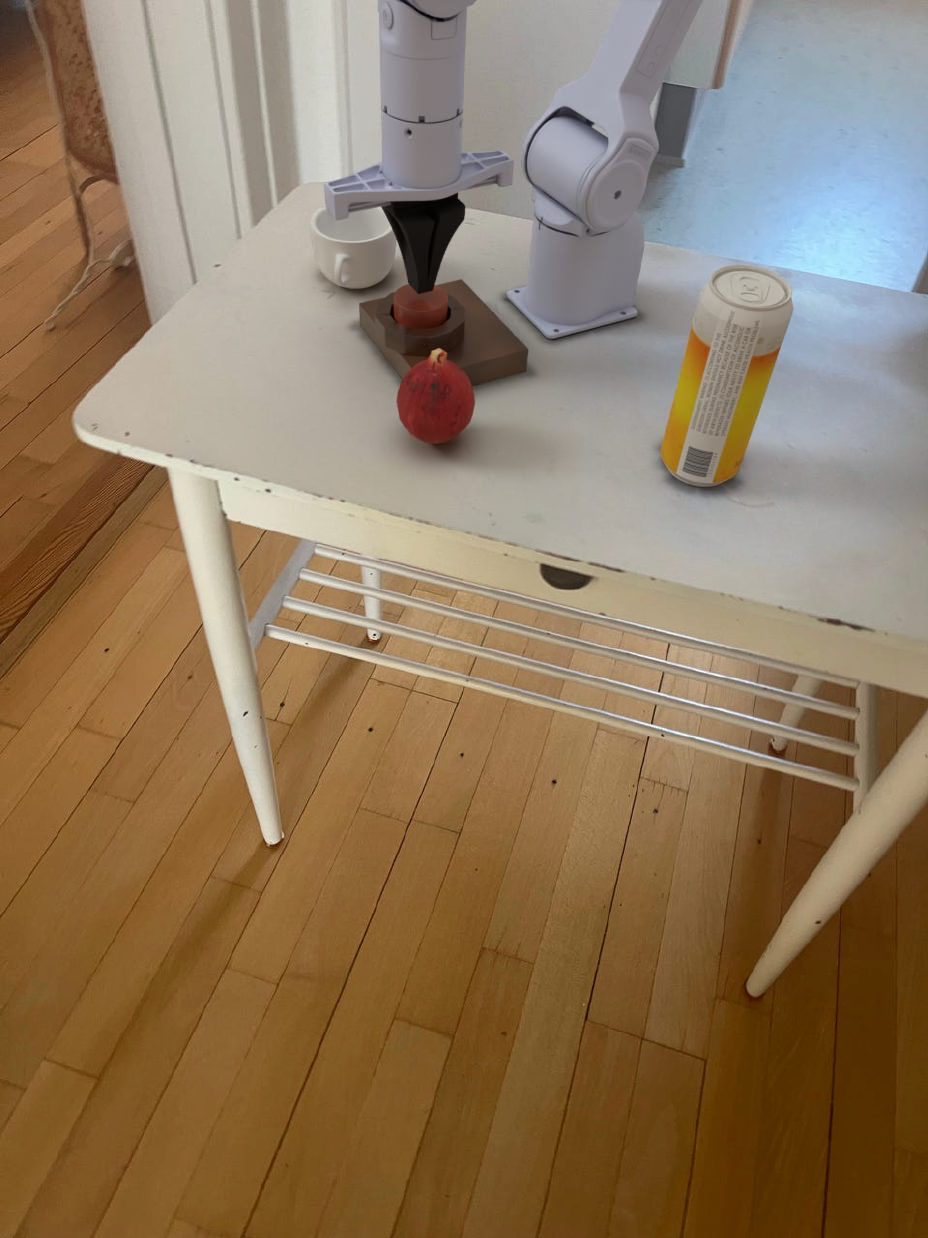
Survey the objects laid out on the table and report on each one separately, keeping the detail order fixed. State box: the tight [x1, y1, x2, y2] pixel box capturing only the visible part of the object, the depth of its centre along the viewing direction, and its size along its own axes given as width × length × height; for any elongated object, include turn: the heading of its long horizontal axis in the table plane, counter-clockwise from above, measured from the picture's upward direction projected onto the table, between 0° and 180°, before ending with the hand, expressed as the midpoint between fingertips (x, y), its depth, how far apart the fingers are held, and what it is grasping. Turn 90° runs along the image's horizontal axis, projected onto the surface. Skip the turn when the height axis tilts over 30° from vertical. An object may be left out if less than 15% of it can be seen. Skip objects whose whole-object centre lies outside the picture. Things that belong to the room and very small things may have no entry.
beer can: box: [660, 264, 794, 488], centre depth 67 cm, size 6×6×15 cm
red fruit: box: [396, 348, 476, 445], centre depth 70 cm, size 6×6×8 cm
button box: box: [358, 278, 529, 387], centre depth 80 cm, size 11×12×4 cm
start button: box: [393, 283, 448, 329], centre depth 78 cm, size 4×4×2 cm
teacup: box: [309, 205, 397, 290], centre depth 86 cm, size 10×8×5 cm
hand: (420, 286), depth 76 cm, fingers closed
